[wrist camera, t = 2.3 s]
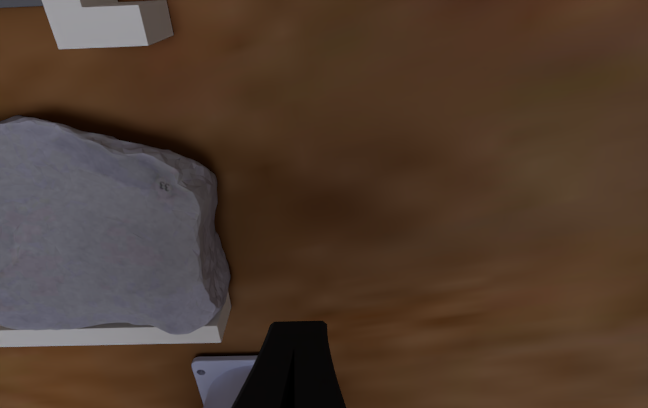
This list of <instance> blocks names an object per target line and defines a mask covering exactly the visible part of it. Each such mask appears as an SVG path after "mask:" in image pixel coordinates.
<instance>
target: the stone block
mask: <svg viewBox="0 0 648 408" xmlns="http://www.w3.org/2000/svg"><path fill="white" fill-rule="evenodd" d="M217 203H218V200H217V179H216V176H215V174H214V173H212V172H211V171H210V170H209V169H208V168H206V167H205V166H203V165H202V164H200V163H199V162H197V161H195V160H192V159H190V158H186V157H184V156H182V155H179V154H177V153H174V152H172V151H170V150H162V149H158V148H154V147H150V146H146V145H143V144H137V143H131V142H127V141H122V140H118V139H116V138H115V137H113V136H107V135H104V134H95V133H90V132H85V131H80V130H77V129H75V128H72V127H70V126H67V125H64V124H60V123H54V122H50V121H48V120H42V119H38V118H34V117H24V116H21V115H16V116H14V117H11V118H8V119H6V120H3V121H1V122H0V325H1V326H4V327H7V328H11V329H16V330H49V329H51V330H61V329H77V328H84V327H89V326H94V325H99V324H107V323H130V324H133V325H151V326H154V327H157V328H159V329H160V330H163V331H165V332H167V333H169V334H175V335H179V334H189V333H191V332H193V331H195V330H197V329H199V328H201V327H203V326H205V325H206V324H208V323H209V322H210V321H211V320H212V319H213V318H214V317H215V315H216V314H217V313H218V312H219V311H220V309H221V308H222V307H223V305H224V303H225V302H226V297H227V293H228V287H229V282H230V278H231V276H230V271H229V266H228V263H227V260H226V257H225V253H224V251H223V249H222V246H221V241H220V238H219V235H218V234H217V233H216V231H215V225H214V218H215V210H216V207H217Z"/></svg>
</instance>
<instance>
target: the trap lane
mask: <svg viewBox="0 0 648 408" xmlns="http://www.w3.org/2000/svg"><path fill="white" fill-rule="evenodd" d="M27 6H44V9H45V12H46V14H47V17H48V20H49V23H50V26H51V28H52V31H53V34H54V37H55V40H56V43H57V45H58V48H59V49H77V48H102V47H127V46H149V45H151V44H154V43H156V42H158V41H161V40H163V39H166V38H168V37H171V36H173V35H174V34H173V29H172V25H171V20H170V15H169V10H168V6H167V1H166V0H157V1H134V2H118V0H0V8H3V7H27ZM230 310H231V303H230V298H229V293H227V297H226V302H225V303H224V305H223V307H222V308H221V309H220V311H219V312H218V313H217V314H216V315H215V317H214V318H213V319H212V320H211V321H210V322H209V323H208V324H206V325H205V326H203V327H201V328H199V329H197V330H195V331H193V332H191V333H189V334H179V335H175V334H169V333H167V332H165V331H163V330H160V329H159V328H157V327H154V326H151V325H133V324H130V323H107V324H99V325H94V326H89V327H84V328H77V329H61V330H51V329H49V330H16V329H11V328H7V327H4V326H1V325H0V347H24V346H75V345H126V344H177V343H221V341H222V338H223V334H224V331H225V327H226V324H227V320H228V317H229V314H230Z"/></svg>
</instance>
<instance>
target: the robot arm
mask: <svg viewBox="0 0 648 408" xmlns="http://www.w3.org/2000/svg"><path fill="white" fill-rule="evenodd" d="M191 367H192V370H193V373H194V376H195V379H196V382H197V386H198V389H199V392H200V395H201V398H202V402H203V405H204V407H203V408H346V406H345V403H344V400H343V397H342V394H341V391H340V387H339V384H338V381H337V378H336V374H335V371H334V367H333V363H332V358H331V354H330V349H329V343H328V336H327V324H326V323H325V322H323V321H292V322H274V323H272V324H271V325H270V327H269V330H268V333H267V335H266V338H265V340H264V343H263V345H262V347H261V350H260V352H259V354H258V355H255V356H202V357H196V358H194V359H193V361H192V364H191Z"/></svg>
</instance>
